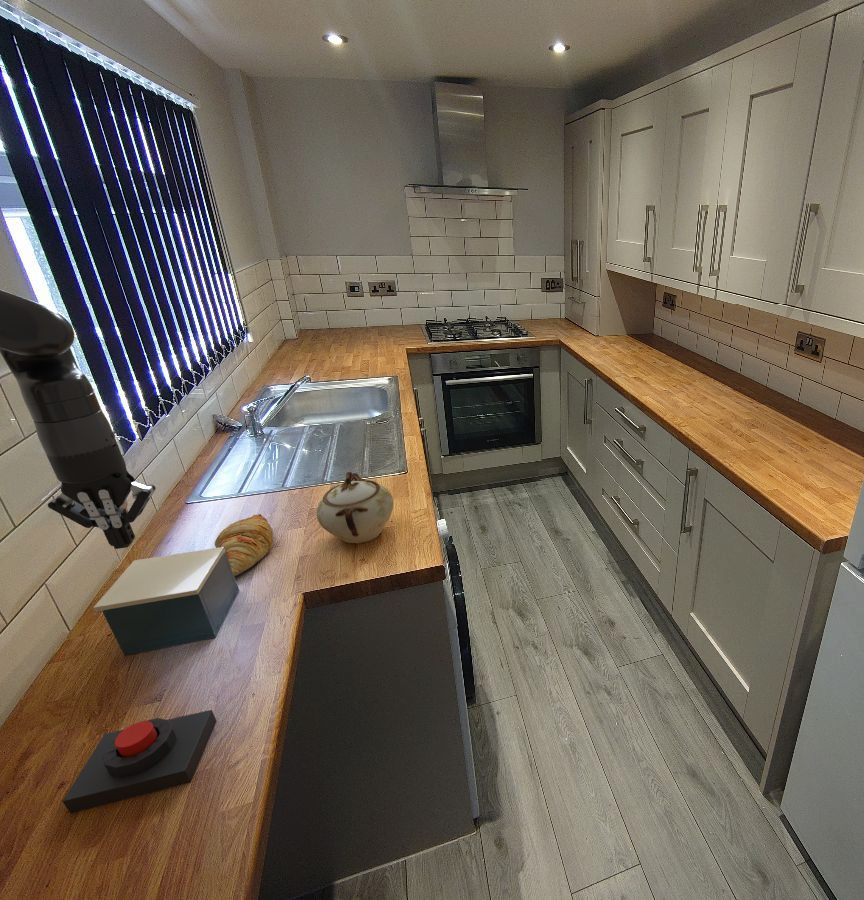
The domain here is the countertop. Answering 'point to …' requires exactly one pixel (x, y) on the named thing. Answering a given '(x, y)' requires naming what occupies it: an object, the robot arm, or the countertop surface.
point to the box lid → (161, 578)
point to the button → (136, 738)
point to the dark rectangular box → (176, 615)
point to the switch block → (142, 763)
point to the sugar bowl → (355, 509)
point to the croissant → (246, 542)
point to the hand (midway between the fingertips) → (124, 545)
